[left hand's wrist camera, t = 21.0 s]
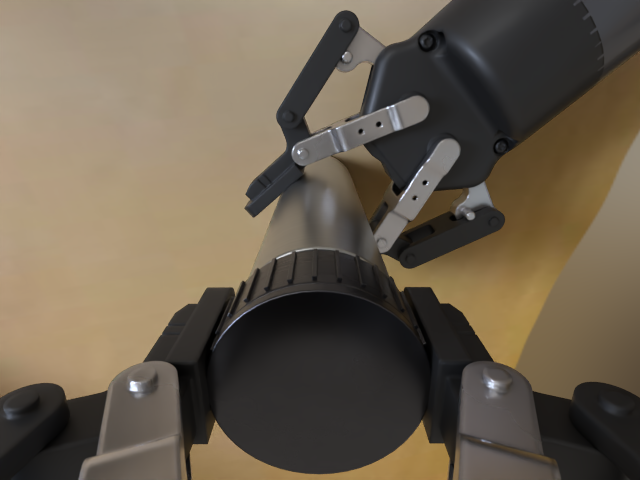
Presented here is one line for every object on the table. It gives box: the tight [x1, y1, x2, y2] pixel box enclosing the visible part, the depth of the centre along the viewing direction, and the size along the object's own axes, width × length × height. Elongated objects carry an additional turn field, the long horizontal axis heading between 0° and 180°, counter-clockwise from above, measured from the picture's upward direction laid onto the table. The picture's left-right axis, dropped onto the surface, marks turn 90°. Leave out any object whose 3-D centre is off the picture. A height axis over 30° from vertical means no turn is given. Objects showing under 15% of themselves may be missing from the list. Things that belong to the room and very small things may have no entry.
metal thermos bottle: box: [249, 156, 389, 278], centre depth 19 cm, size 5×5×20 cm
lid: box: [206, 249, 431, 474], centre depth 10 cm, size 5×5×2 cm
